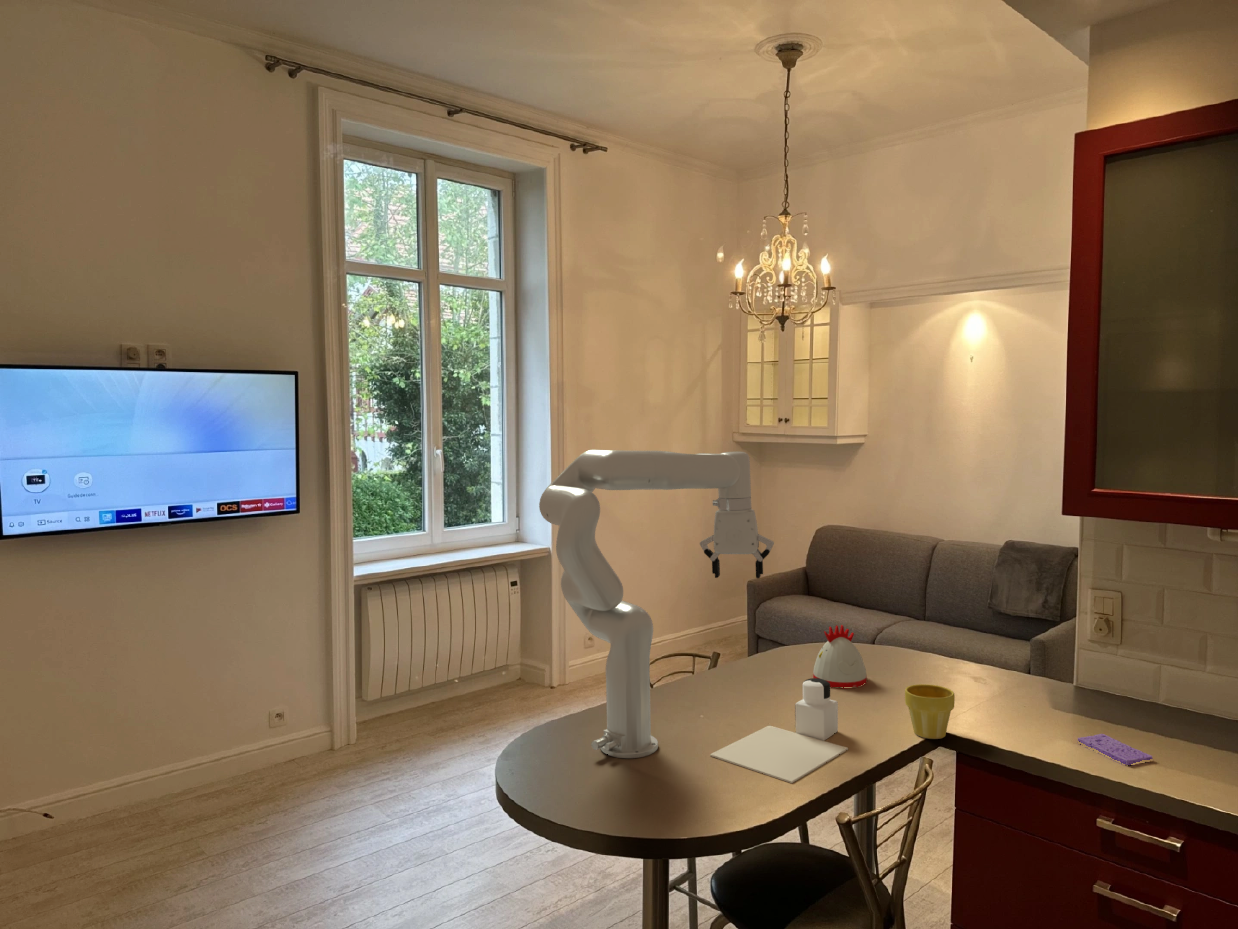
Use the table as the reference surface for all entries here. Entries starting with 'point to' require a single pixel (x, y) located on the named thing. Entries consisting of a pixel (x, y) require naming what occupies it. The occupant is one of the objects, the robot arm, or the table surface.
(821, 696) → the medicine bottle
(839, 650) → the kitchen timer
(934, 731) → the plant pot
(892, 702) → the table surface
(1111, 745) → the sponges
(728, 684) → the table surface
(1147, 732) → the table surface
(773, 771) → the mat
